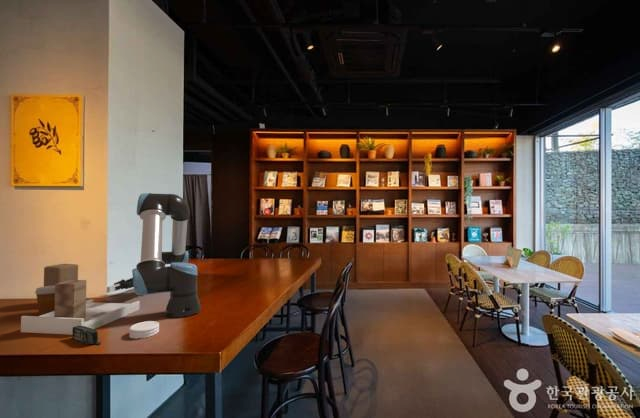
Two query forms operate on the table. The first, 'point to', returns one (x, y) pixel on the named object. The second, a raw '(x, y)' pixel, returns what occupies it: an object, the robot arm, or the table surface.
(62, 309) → the walnut block
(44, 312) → the disposable coffee cup
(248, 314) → the table surface
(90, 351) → the table surface
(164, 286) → the robot arm
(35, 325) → the board
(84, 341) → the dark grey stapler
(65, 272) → the wooden block
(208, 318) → the table surface
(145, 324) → the coaster
